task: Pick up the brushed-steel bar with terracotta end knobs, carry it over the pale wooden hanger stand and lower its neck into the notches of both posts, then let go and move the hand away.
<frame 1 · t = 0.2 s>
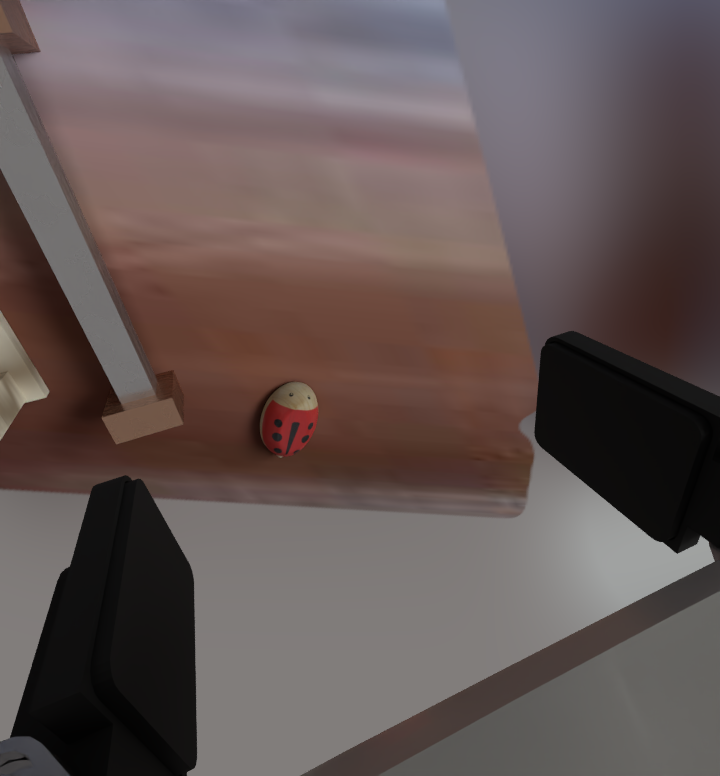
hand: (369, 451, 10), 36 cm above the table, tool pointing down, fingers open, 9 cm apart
ladybug figurine: (287, 414, 51), on the table
steel bar: (81, 247, 36), on the table
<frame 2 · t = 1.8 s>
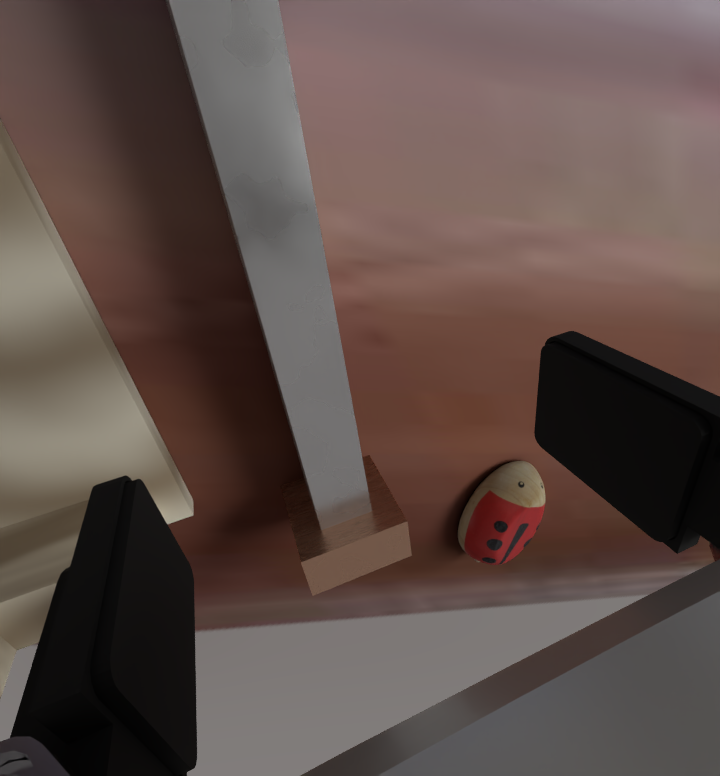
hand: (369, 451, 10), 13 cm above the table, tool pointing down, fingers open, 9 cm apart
ladybug figurine: (490, 501, 36), on the table
steel bar: (276, 272, 21), on the table
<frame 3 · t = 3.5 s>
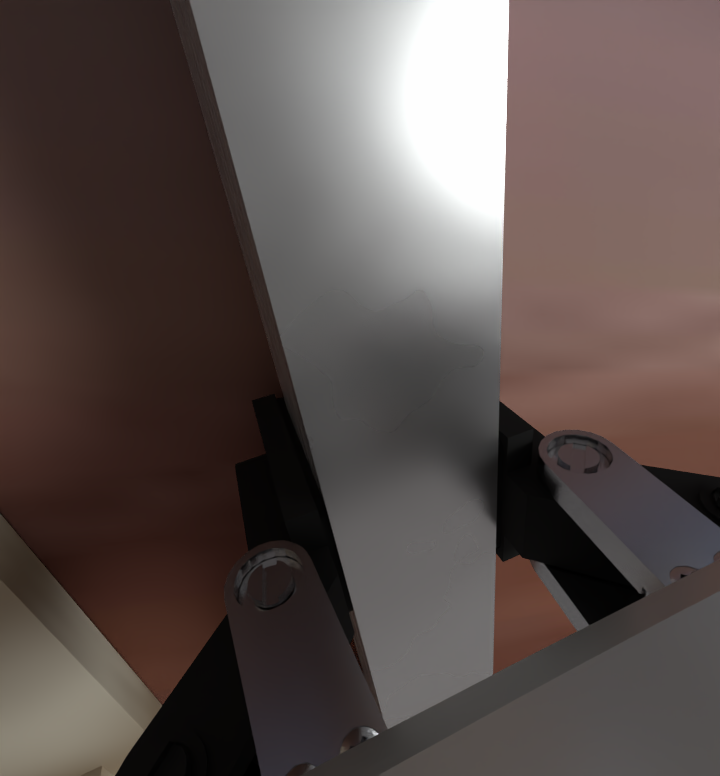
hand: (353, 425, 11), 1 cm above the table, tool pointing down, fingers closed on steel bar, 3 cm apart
steel bar: (344, 410, 11), on the table, touching gripper
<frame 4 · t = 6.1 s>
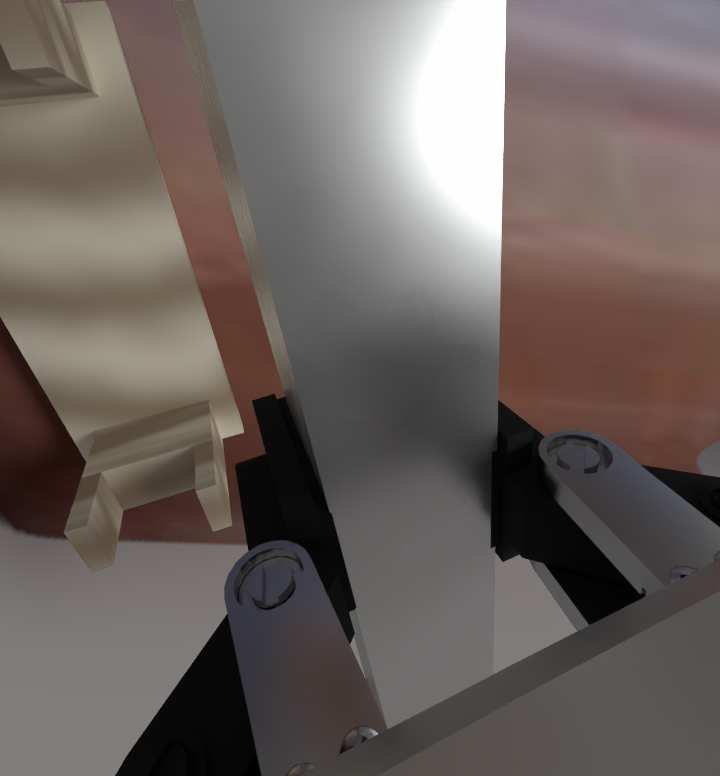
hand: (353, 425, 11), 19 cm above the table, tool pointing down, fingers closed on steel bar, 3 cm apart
hanger stand: (102, 283, 25), on the table
steel bar: (345, 410, 11), point 19 cm above the table, touching gripper
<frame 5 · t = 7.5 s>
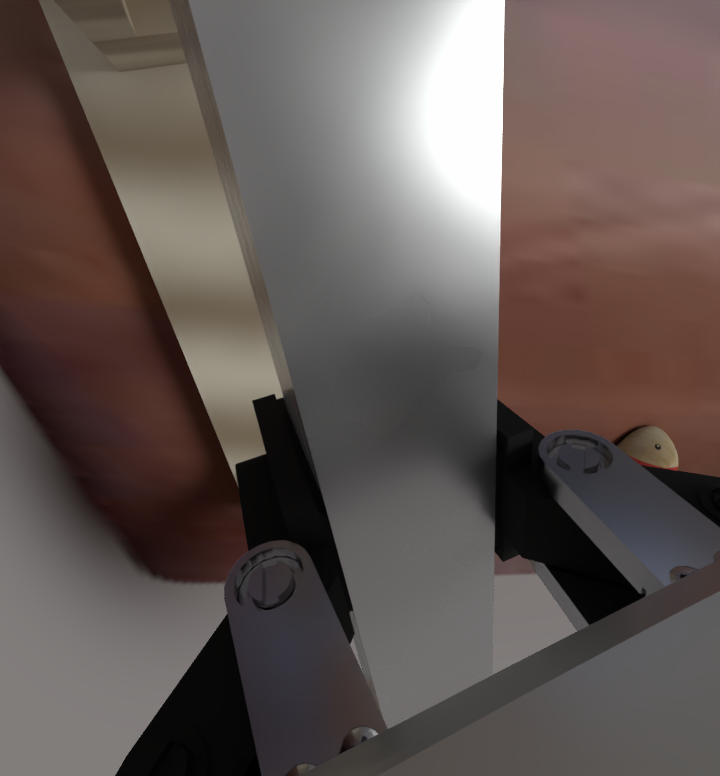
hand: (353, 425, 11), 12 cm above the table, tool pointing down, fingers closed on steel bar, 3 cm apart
hanger stand: (281, 287, 20), on the table
ladybug figurine: (616, 466, 38), on the table
steel bar: (344, 412, 11), point 11 cm above the table, touching gripper
when the fingers open (6 cm above the table, at t = 8.7 s): steel bar stays where it is, resting on hanger stand.
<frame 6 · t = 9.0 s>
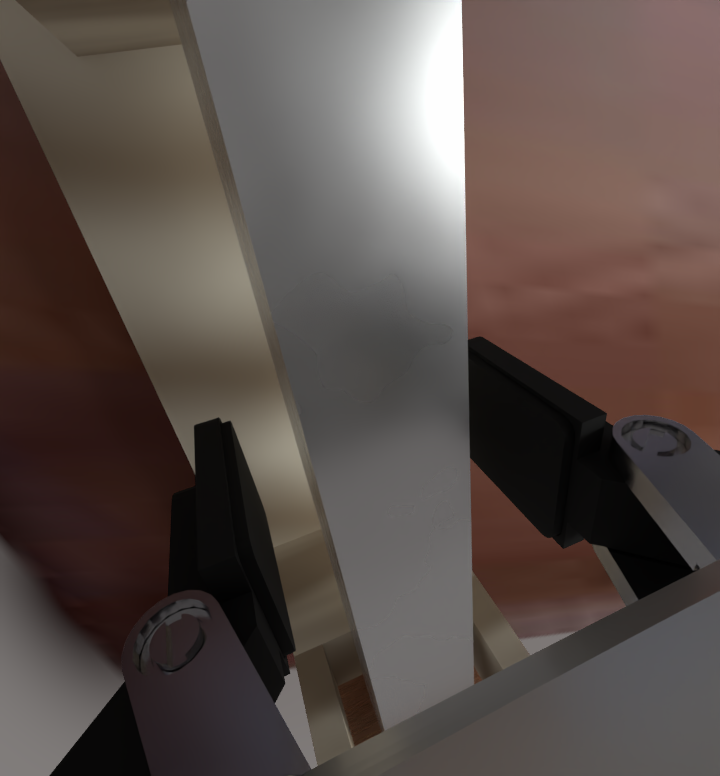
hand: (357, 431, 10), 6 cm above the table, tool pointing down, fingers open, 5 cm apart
hanger stand: (299, 337, 16), on the table
steel bar: (335, 394, 12), point 4 cm above the table, touching hanger stand
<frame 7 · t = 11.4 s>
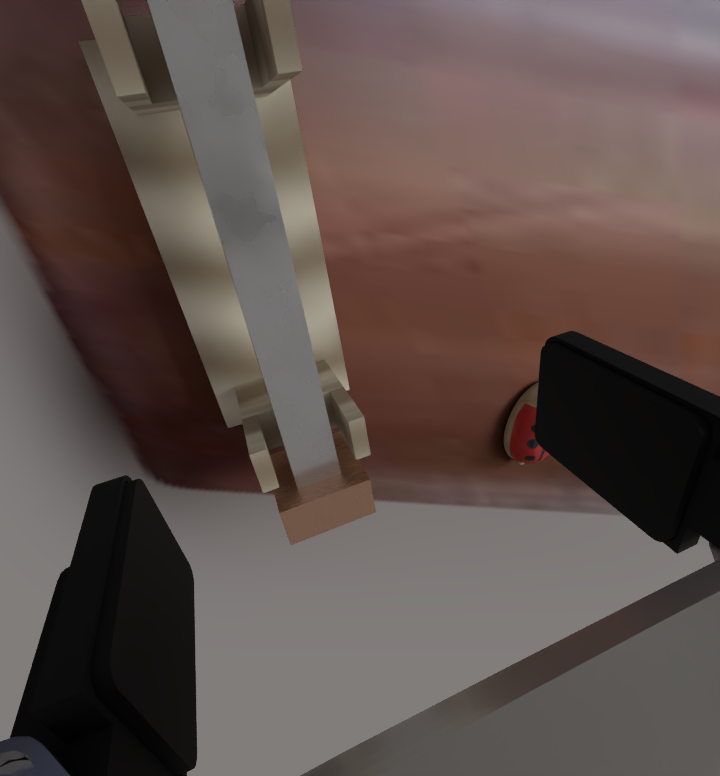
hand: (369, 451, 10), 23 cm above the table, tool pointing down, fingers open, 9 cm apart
hanger stand: (246, 256, 29), on the table
ladybug figurine: (526, 416, 46), on the table
steel bar: (256, 271, 25), point 4 cm above the table, touching hanger stand
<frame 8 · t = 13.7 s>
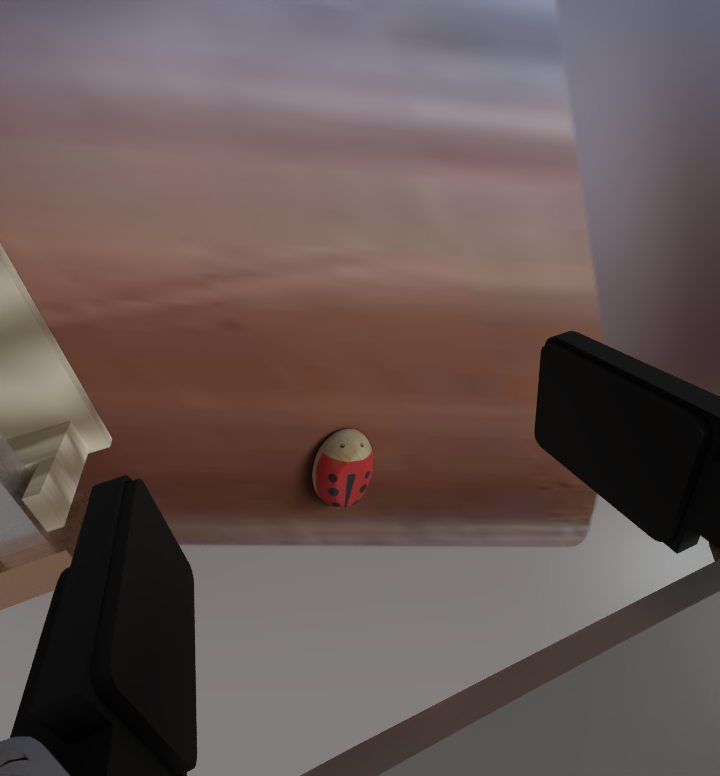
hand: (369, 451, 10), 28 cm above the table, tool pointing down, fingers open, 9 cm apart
ladybug figurine: (339, 461, 47), on the table
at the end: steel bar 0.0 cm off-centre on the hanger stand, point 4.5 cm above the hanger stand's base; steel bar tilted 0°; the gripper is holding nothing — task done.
